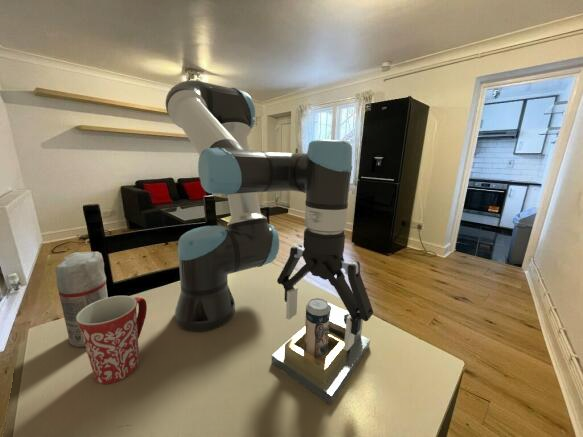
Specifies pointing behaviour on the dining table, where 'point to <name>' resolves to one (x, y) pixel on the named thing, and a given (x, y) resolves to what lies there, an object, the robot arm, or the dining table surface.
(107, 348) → the mug
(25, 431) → the dining table surface
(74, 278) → the spray can
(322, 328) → the beer can
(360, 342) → the grey socket fixture
